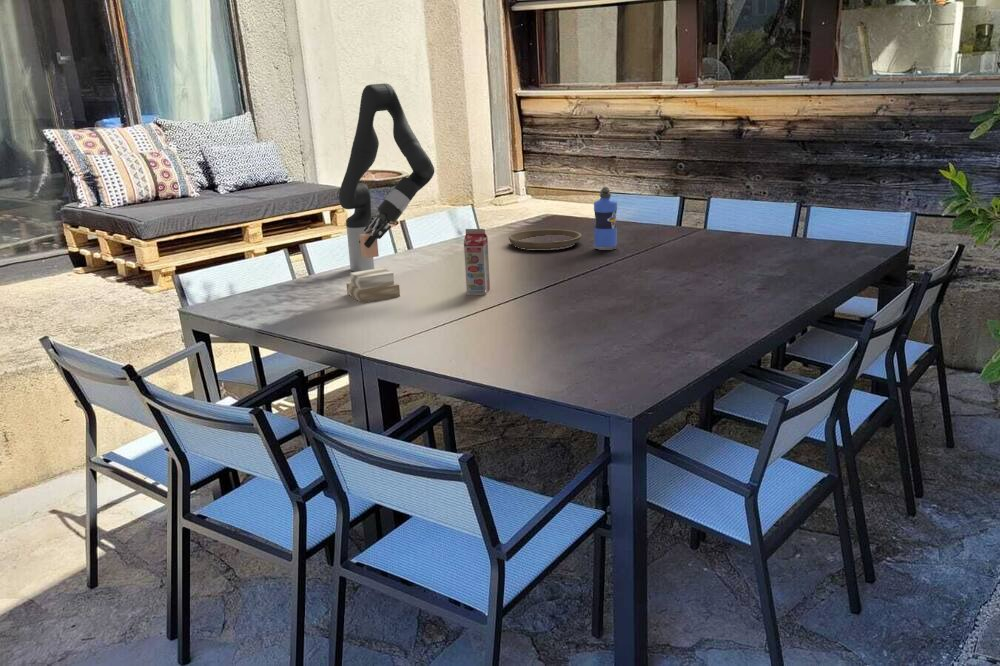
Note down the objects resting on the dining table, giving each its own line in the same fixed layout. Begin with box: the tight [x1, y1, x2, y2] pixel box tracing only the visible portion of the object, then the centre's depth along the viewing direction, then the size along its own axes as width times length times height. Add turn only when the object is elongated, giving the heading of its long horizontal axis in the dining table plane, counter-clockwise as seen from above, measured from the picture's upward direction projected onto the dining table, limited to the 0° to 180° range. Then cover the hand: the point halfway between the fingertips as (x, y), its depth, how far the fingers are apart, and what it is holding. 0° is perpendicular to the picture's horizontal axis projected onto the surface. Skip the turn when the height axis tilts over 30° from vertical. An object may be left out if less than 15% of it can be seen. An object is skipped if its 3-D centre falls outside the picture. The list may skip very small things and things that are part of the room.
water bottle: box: [593, 186, 618, 247], centre depth 356 cm, size 9×9×25 cm
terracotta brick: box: [360, 233, 380, 258], centre depth 297 cm, size 4×4×8 cm
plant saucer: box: [508, 228, 583, 249], centre depth 372 cm, size 31×31×5 cm
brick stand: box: [345, 267, 401, 303], centre depth 301 cm, size 14×14×8 cm
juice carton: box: [463, 228, 491, 296], centre depth 297 cm, size 7×7×22 cm
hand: (363, 245), depth 296 cm, fingers closed on terracotta brick, 4 cm apart
